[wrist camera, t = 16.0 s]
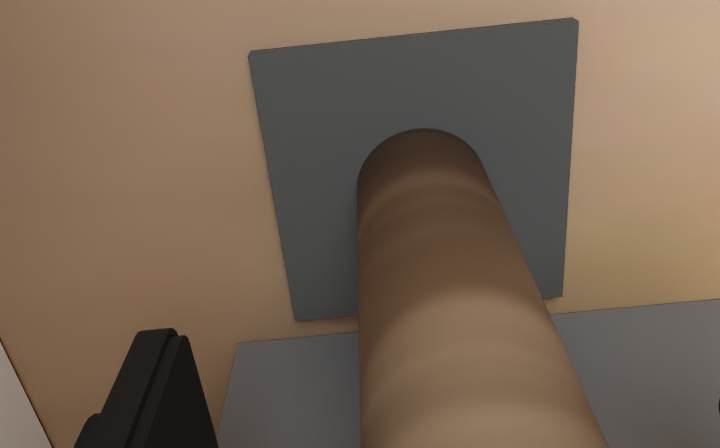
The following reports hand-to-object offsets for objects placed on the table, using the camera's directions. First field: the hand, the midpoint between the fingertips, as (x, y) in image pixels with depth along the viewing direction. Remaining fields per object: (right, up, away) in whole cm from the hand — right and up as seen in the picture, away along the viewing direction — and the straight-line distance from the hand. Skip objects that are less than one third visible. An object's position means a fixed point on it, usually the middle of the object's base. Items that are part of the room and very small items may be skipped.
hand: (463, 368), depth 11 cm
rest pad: (0, +4, +7) cm, 8 cm away
